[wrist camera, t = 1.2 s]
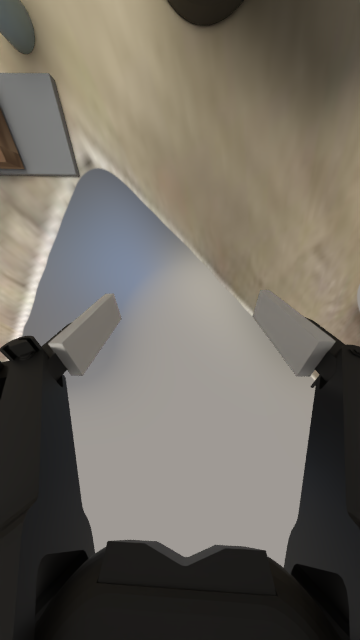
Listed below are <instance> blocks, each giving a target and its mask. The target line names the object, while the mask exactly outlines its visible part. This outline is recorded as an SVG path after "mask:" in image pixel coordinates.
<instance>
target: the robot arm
mask: <svg viewBox="0 0 360 640" xmlns="http://www.w3.org/2000/svg"><path fill="white" fill-rule="evenodd" d="M168 1H169V3H170V4H171V5H172V7H173V8H174V9H175V10H176V11H177V12H178V13H179V14H180V15H181V16H182V17H184V18H185V19H186V20H188V21H190V22H192V23H195V24H199V25H209V24H214V23H217V22H219V21H221V20H223V19H224V18H226V17H227V16H229V15H230V14H231V13H232V12H233V11H234V10H235V9H236V8H237V7H238V6H239V5H240V4H241V3H242V2H243V0H168ZM253 318H254V319H255V321H256V322H257V323H258V325H259V326H260V327H261V329H262V330H263V332H264V333H265V334H266V336H267V337H268V338H269V340H270V341H271V342H272V343H273V345H274V346H275V348H276V349H277V351H278V352H279V353H280V354H281V356H282V357H283V358H284V360H285V361H286V363H287V364H288V366H289V367H290V368H291V370H292V371H293V372H294V374H295V375H296V376H310V375H311V374H312V373H313V371H314V370H316V371H317V372H318V373H319V374H320V375H319V376H318V378H317V379H316V380H315V381H314V383H313V384H312V386H311V387H312V388H313V387H314V386H316V388H315V396H314V403H313V411H312V418H311V425H310V434H309V440H308V448H307V455H306V463H305V470H304V477H303V485H302V492H301V500H300V507H299V514H298V519H297V522H296V524H295V526H294V528H293V529H292V531H291V534H290V537H289V541H288V545H287V551H286V558H285V565H284V568H283V567H282V566H281V565H279V564H278V563H276V562H275V561H274V560H272V559H271V558H269V557H267V554H266V551H265V550H259V549H254V548H249V547H241V546H223V545H214V546H212V547H210V548H208V549H205V550H203V551H201V552H199V553H197V554H195V555H192V556H190V557H183V556H181V555H180V554H178V553H176V552H174V551H173V550H171V549H169V548H168V547H166V546H164V545H163V544H161V543H159V542H157V541H140V540H120V541H108V542H107V546H106V547H105V548H103V549H102V550H100V551H99V552H97V553H95V550H94V543H93V537H92V532H91V527H90V524H89V521H88V519H87V517H86V515H85V513H84V511H83V508H82V502H81V494H80V486H79V478H78V471H77V464H76V455H75V448H74V440H73V432H72V425H71V417H70V409H69V401H68V393H67V386H66V378H65V376H64V375H63V374H64V372H65V371H66V370H68V372H69V373H70V374H71V375H74V376H78V375H79V376H82V375H84V373H85V372H86V370H87V369H88V367H89V366H90V364H91V363H92V361H93V360H94V359H95V357H96V356H97V354H98V353H99V351H100V350H101V348H102V347H103V345H104V344H105V342H106V341H107V339H108V338H109V337H110V335H111V334H112V332H113V331H114V329H115V328H116V326H117V325H118V323H119V322H120V320H121V315H120V312H119V309H118V306H117V303H116V300H115V296H114V294H105V295H104V296H103V297H101V298H100V299H99V300H98V301H97V302H95V303H94V304H93V305H92V306H91V307H90V308H88V309H87V310H86V311H85V312H84V313H83V314H82V315H81V316H79V317H78V318H77V319H76V320H75V321H74V322H72V323H70V324H68V325H67V326H65V327H64V328H63V329H62V331H59V332H58V333H57V335H55V336H54V337H52V338H51V339H50V340H49V341H48V342H47V343H45V344H44V345H43V346H42V347H41V346H40V345H39V343H38V342H37V341H36V339H35V338H34V337H33V336H24V337H20V338H17V339H14V340H12V341H10V342H8V343H6V344H5V345H4V346H2V347H1V349H0V351H1V352H2V353H3V354H4V355H5V356H6V357H7V358H8V359H9V360H10V361H6V362H1V361H0V640H360V347H359V346H355V345H345V344H344V343H342V342H341V341H340V340H338V339H337V338H336V337H334V336H333V335H332V334H330V333H329V332H328V331H326V330H325V329H324V328H322V327H320V325H318V324H317V323H316V322H314V321H313V320H310V319H308V318H306V317H304V316H303V315H301V314H300V313H299V312H297V311H296V310H295V309H293V308H292V307H291V306H290V305H288V304H287V303H286V302H284V301H283V300H282V299H280V298H279V297H278V296H277V295H275V294H274V293H273V292H271V291H270V290H260V293H259V296H258V300H257V303H256V307H255V310H254V314H253Z"/></svg>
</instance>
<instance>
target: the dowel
mask: <svg viewBox="0 0 360 640" xmlns="http://www.w3.org/2000/svg"><path fill="white" fill-rule="evenodd" d="M0 32H1V34H2V35H3V36H4V37H5V38H6V39H7V40H8V41H9V42H10V43H11V44H12V45H13V46H14V47H15V49H17V50H18V51H19V52H21V53H23V54H28V53H30V52H31V51H32V50H33V47H34V42H35V36H34V29H33V25H32V22H31V19H30V17H29V14H28V12H27V10H26V9H25V7H24V6H23V4H22V3H21V1H20V0H0Z"/></svg>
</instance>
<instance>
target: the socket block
mask: <svg viewBox="0 0 360 640" xmlns="http://www.w3.org/2000/svg"><path fill="white" fill-rule="evenodd" d="M0 169H25V168H24V166H23V163H22V161H21V158H20V156H19V154H18V151H17V149H16V146H15V144H14V141H13V139H12V136H11V134H10V131H9V129H8V126H7V124H6V121H5V119H4V116H3V114H2V111H1V109H0Z"/></svg>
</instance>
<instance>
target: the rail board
mask: <svg viewBox="0 0 360 640" xmlns="http://www.w3.org/2000/svg"><path fill="white" fill-rule="evenodd" d="M0 109H1V111H2V114H3V116H4V119H5V121H6V124H7V126H8V129H9V131H10V134H11V136H12V139H13V141H14V144H15V146H16V149H17V151H18V154H19V156H20V158H21V161H22V163H23V166H24V168H25V169H0V175H35V176H79V172H78V168H77V165H76V161H75V157H74V153H73V149H72V145H71V142H70V138H69V134H68V130H67V126H66V122H65V119H64V115H63V111H62V107H61V103H60V99H59V96H58V92H57V88H56V84H55V80H54V79H53V78H52V76H51V75H50V74H49V73H0Z"/></svg>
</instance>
